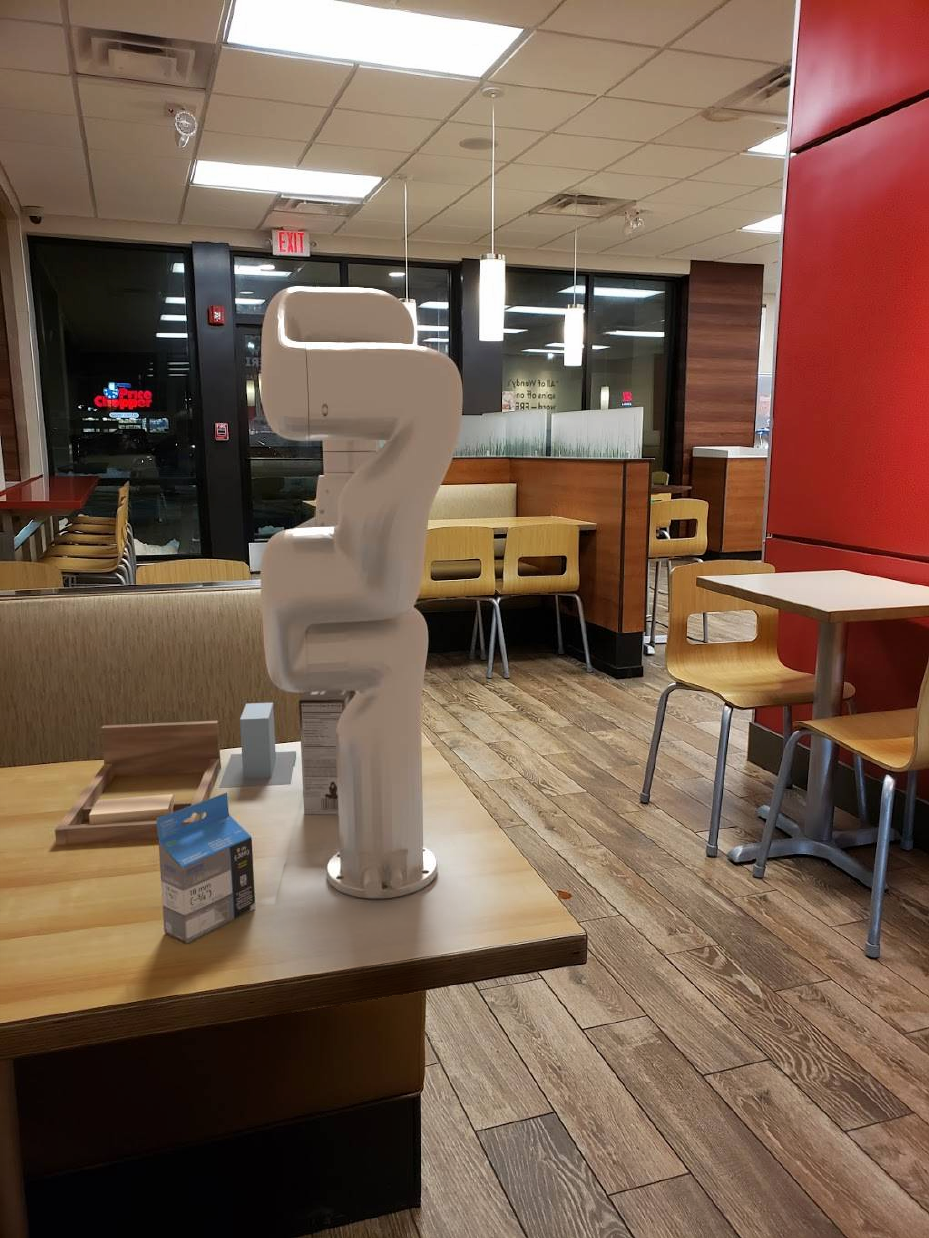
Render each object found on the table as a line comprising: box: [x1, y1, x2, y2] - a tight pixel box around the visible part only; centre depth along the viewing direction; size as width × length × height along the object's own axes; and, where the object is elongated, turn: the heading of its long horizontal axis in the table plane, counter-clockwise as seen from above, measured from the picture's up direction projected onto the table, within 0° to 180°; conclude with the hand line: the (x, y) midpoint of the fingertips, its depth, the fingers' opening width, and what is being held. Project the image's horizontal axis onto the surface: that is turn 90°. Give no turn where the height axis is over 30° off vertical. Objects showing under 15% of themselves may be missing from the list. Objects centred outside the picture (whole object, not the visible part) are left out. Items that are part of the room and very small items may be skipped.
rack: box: [54, 720, 222, 846], centre depth 123 cm, size 24×16×8 cm
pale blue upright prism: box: [239, 702, 277, 779], centre depth 135 cm, size 8×4×9 cm, turn 7°
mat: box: [218, 750, 297, 789], centre depth 136 cm, size 14×10×1 cm
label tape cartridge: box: [156, 792, 256, 944], centre depth 93 cm, size 9×4×12 cm, turn 143°
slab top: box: [88, 793, 175, 824], centre depth 116 cm, size 5×9×2 cm, turn 100°
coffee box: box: [298, 690, 357, 815], centre depth 123 cm, size 9×6×16 cm
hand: (354, 588), depth 128 cm, fingers open, 9 cm apart
